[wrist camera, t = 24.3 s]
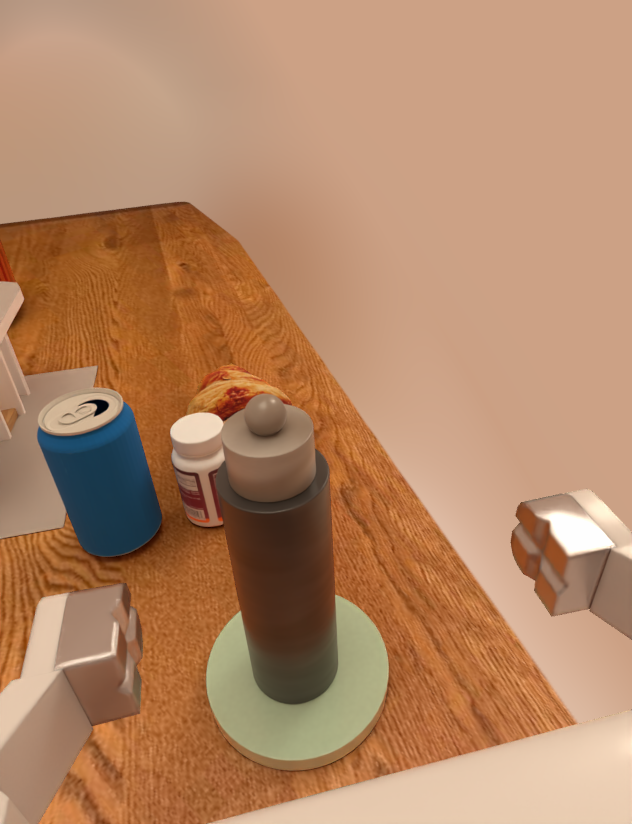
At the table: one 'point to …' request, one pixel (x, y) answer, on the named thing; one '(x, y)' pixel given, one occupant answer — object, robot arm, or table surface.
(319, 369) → the table surface
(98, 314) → the table surface
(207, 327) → the table surface
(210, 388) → the croissant
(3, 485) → the architectural model
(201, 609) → the table surface
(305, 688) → the pepper mill
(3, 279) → the planter
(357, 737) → the disc
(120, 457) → the beverage can
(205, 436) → the pill bottle
